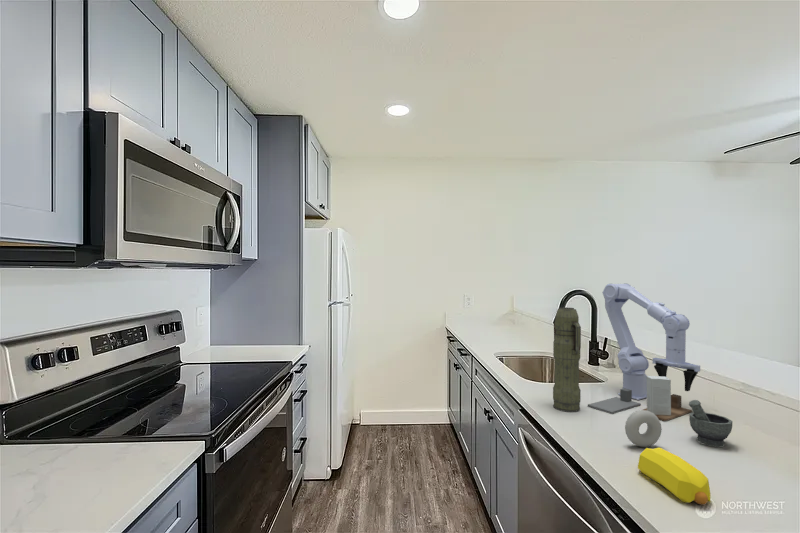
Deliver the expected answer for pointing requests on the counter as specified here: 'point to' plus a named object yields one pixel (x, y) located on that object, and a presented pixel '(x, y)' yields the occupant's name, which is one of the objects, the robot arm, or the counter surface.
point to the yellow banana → (675, 475)
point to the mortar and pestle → (709, 426)
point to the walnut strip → (674, 409)
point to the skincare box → (659, 395)
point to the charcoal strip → (616, 402)
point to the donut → (651, 433)
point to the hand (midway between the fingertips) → (675, 387)
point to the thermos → (566, 360)
